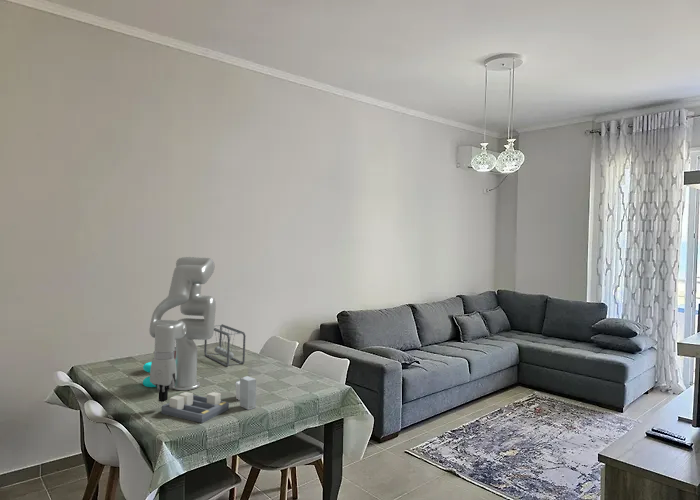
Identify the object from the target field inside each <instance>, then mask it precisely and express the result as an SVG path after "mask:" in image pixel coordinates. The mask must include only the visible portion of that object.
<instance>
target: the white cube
mask: <svg viewBox="0 0 700 500" xmlns="http://www.w3.org/2000/svg"><path fill="white" fill-rule="evenodd" d="M169 403H170V405H169V407H172V408H176V409H183V408H184V397H181V396H179V395H176V394H175V395H174V396H172V397H169Z"/></svg>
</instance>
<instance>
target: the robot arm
mask: <svg viewBox="0 0 700 500" xmlns="http://www.w3.org/2000/svg"><path fill="white" fill-rule="evenodd" d="M214 272H215V261H214V260H213V259H212V258H211V257H198V256H197V257H195V256H192V257H191V256H183V257H179V258H177V260H176V262H175V268H174V270H173V273H172V278H171V282H170V285H169V287H170V288H169V290H168V295H167V296H166V298H164V299H163V300H162V301H160V302H159V304H158V305H157V306H156V307H155V309H154V310H153V312H152V315H151V320H150V324H149V329H148V331H149V335H150V337H152V338H154V351H153V354H154V357H152V361H151V362H152V364H151V370H150V372H149V376H150V382H151V383H152V384H153V385H155V386H156V387H155V388H157V392H158V402H161V403H164V402H166V401H168V399H169V397H168V396H169V391H170V389H172V390H176V391H190V390H194V389H197V388H199V387H200V384H201V383H200V381H198V380H197V376H198V374H197V373H198V372H197V371H198V370H197V368H198V347H197V344H196V342H195V341H197V340H198V341H200V340H201V341H205V340H207V341H209V340H211V339H212V337H213V336H214V333H215V331H214V329H215V323H216V322H215V320H216V309H217V304H216V300H215V298H214V297H213V296H210V295H202V294H201V293H202V285H205V284H206V283H207V282H208V281H209V279H210V278H211V277H212V275H213V273H214ZM176 307H179V310H180V313H181V314H182V315H184V316H192V317H193V316H197V317H198V316H199V317H203V318H191V317H190V318H188V317H187V318H180V319H178V320H171V319H162V317H163V316H164V315H165V314H166V312H168V311H169V310H171V309H174V308H176ZM175 347H176V359H174V356H175Z"/></svg>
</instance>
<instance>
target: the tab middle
mask: <svg viewBox="0 0 700 500" xmlns="http://www.w3.org/2000/svg"><path fill="white" fill-rule="evenodd" d="M193 395H194V393H193V392H188V391H184V392H181V393H179V394H178V396H181V397H184V404H187V405H192V404H193Z"/></svg>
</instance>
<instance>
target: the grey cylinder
mask: <svg viewBox="0 0 700 500" xmlns="http://www.w3.org/2000/svg"><path fill="white" fill-rule="evenodd" d="M235 398H236V400H237V399H238V401H240V380H237V381H236V382H235Z"/></svg>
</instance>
